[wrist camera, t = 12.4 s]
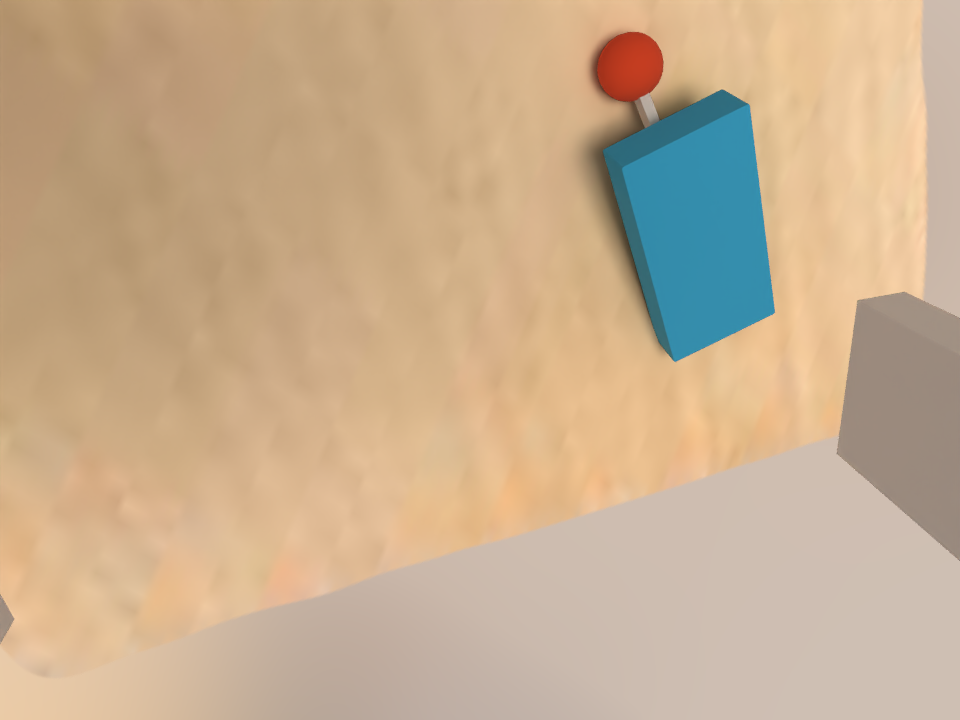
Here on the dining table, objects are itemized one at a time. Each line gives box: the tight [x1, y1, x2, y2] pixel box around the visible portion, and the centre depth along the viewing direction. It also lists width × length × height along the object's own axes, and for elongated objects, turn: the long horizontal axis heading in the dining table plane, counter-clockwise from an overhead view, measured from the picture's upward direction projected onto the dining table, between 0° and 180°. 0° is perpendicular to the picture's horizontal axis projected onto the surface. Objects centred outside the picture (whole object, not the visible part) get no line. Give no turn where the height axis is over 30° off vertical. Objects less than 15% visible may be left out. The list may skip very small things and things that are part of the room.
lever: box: [597, 32, 775, 362], centre depth 40 cm, size 7×7×18 cm
